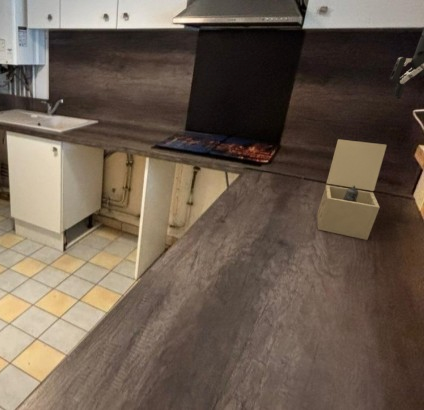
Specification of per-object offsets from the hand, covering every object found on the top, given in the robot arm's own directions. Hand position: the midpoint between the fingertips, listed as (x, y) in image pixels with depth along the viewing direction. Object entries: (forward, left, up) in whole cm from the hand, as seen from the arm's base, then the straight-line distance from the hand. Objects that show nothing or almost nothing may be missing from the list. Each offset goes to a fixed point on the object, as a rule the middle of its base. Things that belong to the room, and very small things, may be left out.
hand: (416, 99), depth 97 cm
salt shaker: (+10, +10, -35) cm, 38 cm away
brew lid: (+9, +2, -19) cm, 21 cm away
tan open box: (+10, +10, -36) cm, 39 cm away
